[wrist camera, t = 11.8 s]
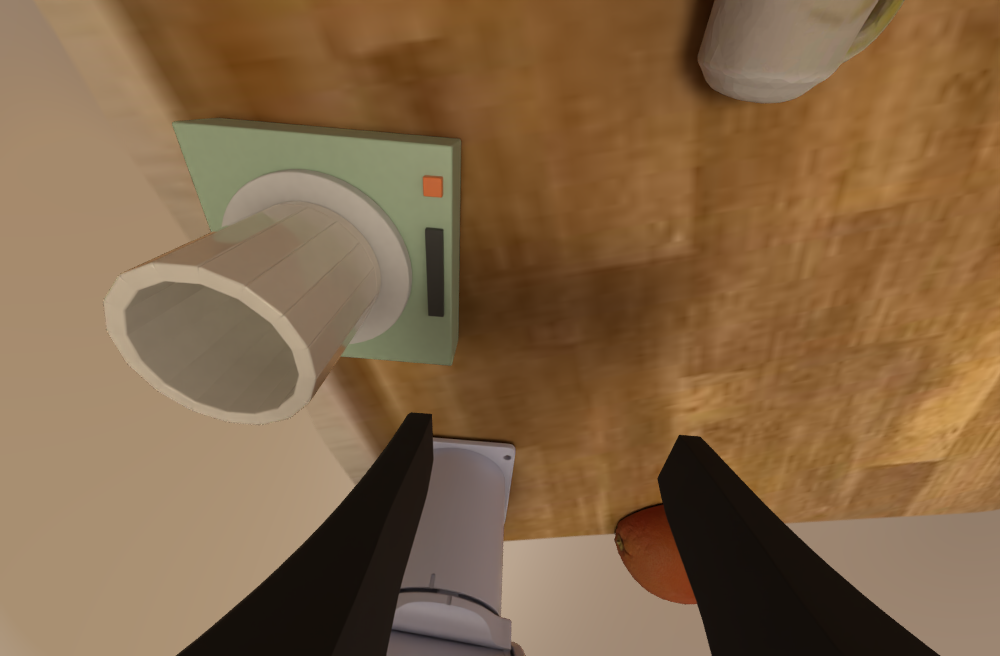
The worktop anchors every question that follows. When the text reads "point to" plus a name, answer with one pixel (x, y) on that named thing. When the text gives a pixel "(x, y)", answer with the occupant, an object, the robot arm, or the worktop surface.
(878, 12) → the mug
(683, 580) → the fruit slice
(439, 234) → the kitchen scale
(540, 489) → the worktop surface
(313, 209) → the white hollow cylinder
